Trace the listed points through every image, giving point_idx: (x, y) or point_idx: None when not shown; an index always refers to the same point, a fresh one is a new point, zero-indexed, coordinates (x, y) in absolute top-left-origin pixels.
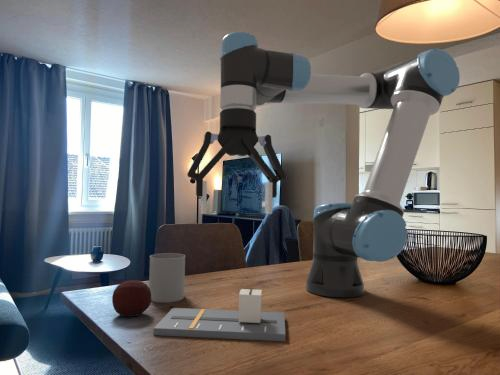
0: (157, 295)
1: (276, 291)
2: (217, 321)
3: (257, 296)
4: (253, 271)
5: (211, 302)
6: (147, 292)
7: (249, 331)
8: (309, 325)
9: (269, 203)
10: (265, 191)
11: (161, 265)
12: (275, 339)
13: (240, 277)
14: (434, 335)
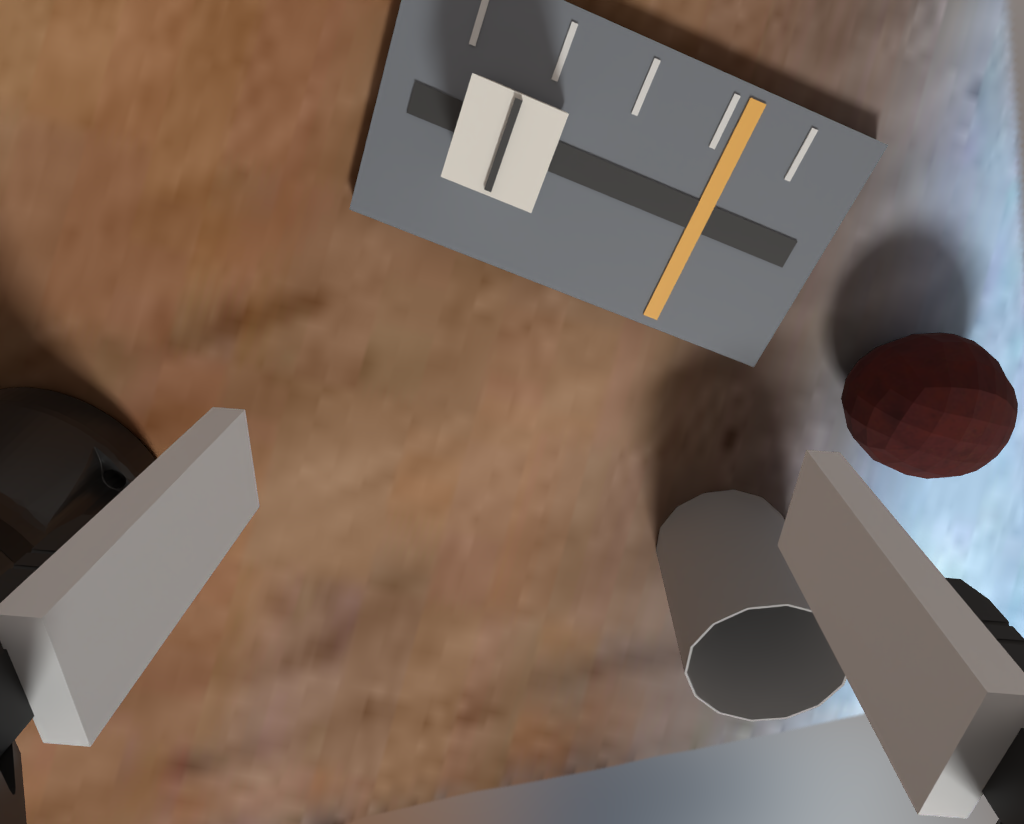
0: (773, 514)
1: (298, 527)
2: (635, 164)
3: (487, 79)
4: (324, 774)
5: (576, 453)
6: (885, 386)
7: (548, 10)
8: (278, 103)
9: (191, 456)
10: (154, 647)
11: None
12: None
13: (392, 714)
14: None
